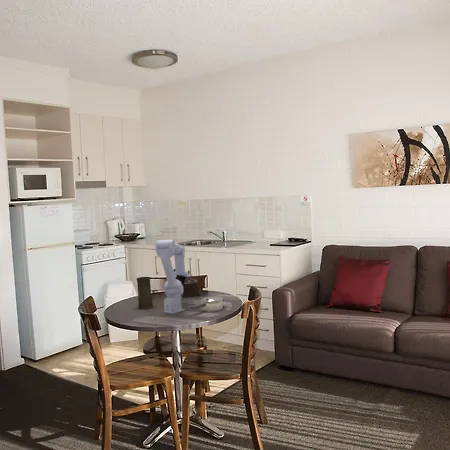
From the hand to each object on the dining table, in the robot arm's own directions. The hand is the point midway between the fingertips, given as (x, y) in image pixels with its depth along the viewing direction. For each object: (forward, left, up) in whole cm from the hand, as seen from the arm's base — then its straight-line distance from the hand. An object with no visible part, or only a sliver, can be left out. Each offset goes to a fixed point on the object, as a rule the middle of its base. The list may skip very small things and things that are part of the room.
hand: (181, 287), depth 295 cm
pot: (-1, -23, -10) cm, 25 cm away
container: (-16, +15, -11) cm, 24 cm away
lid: (+3, -23, -5) cm, 24 cm away
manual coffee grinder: (+18, +17, -11) cm, 27 cm away
